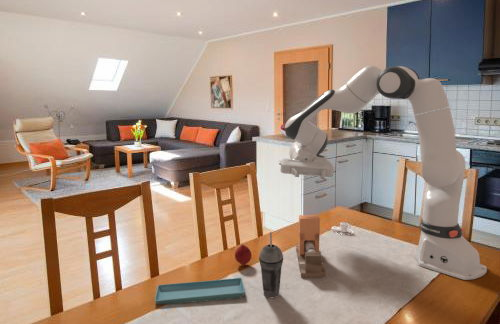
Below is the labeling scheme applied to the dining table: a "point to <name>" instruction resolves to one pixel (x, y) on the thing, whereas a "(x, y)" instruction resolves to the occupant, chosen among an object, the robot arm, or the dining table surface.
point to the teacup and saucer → (343, 228)
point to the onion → (243, 254)
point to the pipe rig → (310, 261)
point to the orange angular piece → (309, 231)
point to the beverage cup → (271, 268)
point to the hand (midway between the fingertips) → (310, 176)
